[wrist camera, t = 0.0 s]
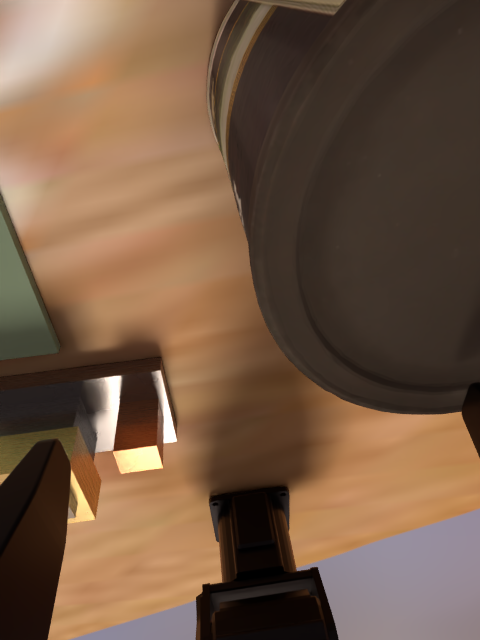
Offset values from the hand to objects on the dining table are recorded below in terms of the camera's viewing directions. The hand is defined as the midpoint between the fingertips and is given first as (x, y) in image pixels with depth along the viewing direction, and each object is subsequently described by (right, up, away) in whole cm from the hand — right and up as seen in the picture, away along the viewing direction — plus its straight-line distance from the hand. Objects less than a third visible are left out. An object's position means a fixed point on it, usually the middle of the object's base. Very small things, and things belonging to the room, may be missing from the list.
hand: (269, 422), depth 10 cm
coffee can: (+3, +12, +10) cm, 16 cm away
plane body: (-13, -4, +19) cm, 23 cm away
